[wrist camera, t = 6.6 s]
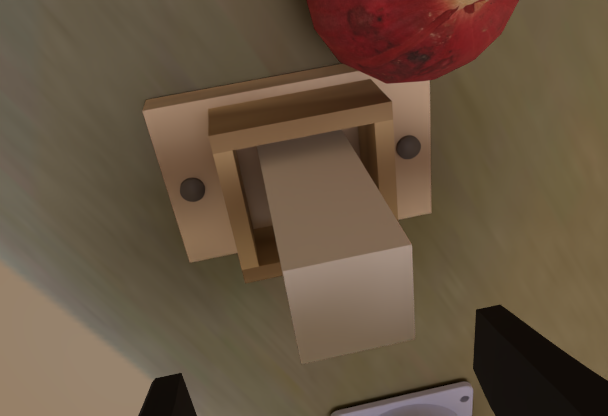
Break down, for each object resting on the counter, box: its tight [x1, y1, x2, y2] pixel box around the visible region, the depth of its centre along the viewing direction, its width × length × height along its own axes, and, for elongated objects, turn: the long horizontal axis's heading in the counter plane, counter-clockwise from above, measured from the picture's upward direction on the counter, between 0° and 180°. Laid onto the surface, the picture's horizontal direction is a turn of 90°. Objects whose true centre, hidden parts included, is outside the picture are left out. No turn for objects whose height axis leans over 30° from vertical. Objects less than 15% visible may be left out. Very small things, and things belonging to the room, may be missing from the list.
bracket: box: [143, 64, 431, 283], centre depth 19 cm, size 6×10×4 cm, turn 98°
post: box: [257, 130, 415, 364], centre depth 16 cm, size 3×3×8 cm
